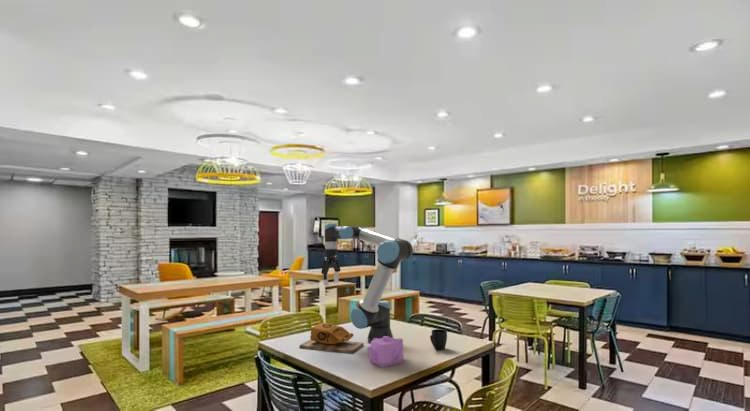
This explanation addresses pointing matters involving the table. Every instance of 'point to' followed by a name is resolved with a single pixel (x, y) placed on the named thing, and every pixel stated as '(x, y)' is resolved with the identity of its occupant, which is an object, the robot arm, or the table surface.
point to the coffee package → (329, 334)
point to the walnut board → (333, 346)
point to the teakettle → (386, 351)
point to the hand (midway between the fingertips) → (331, 283)
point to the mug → (439, 339)
